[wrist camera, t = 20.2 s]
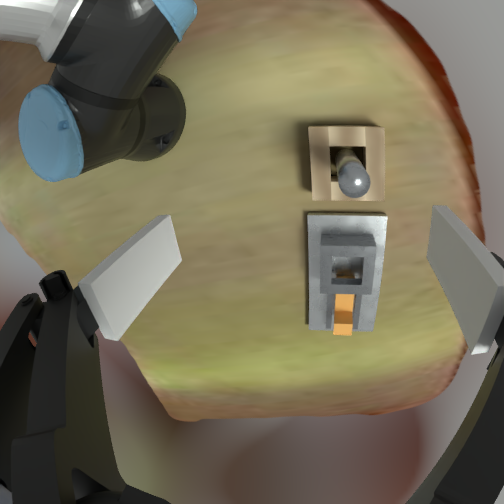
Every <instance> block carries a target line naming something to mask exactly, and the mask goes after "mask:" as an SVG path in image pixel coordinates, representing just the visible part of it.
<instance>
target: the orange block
mask: <svg viewBox="0 0 504 504" xmlns="http://www.w3.org/2000/svg"><path fill="white" fill-rule="evenodd" d="M336 278H355V276H336ZM353 301H354V294H336V296H335V312H334V331H333V335H351V334H352V327H353V314H352V311H353Z"/></svg>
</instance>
